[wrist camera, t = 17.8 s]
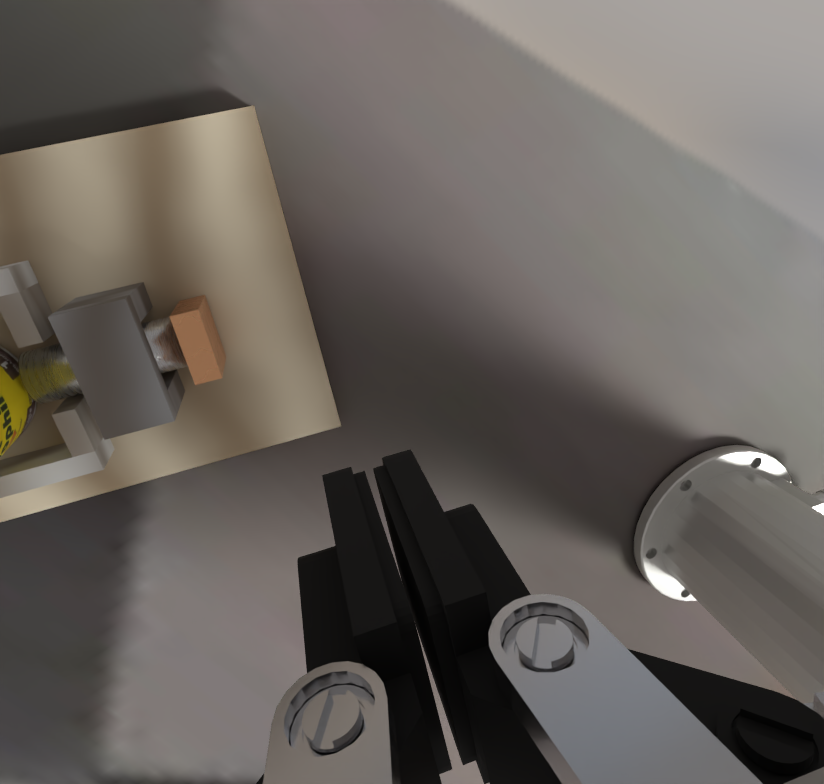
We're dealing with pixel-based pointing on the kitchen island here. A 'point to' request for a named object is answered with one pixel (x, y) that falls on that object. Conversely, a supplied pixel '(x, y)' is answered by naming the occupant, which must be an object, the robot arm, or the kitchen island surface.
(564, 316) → the kitchen island surface
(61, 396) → the lock pin
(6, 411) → the supplement bottle
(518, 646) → the robot arm
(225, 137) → the dock
